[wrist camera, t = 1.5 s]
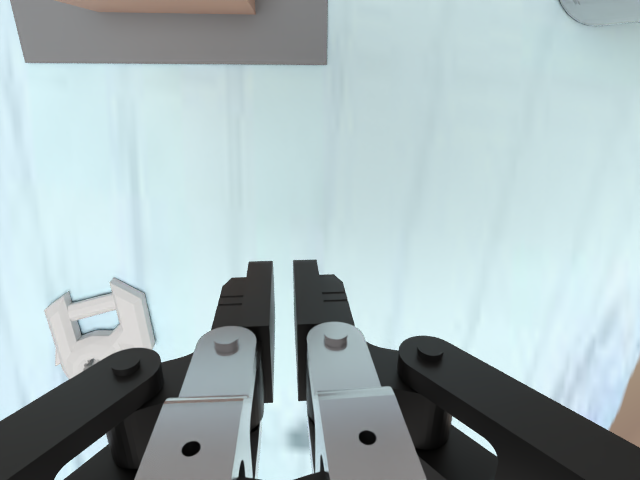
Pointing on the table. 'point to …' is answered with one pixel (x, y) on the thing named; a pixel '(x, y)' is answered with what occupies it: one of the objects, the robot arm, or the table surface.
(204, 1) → the tile
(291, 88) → the table surface
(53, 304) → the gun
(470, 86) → the table surface
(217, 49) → the mat
